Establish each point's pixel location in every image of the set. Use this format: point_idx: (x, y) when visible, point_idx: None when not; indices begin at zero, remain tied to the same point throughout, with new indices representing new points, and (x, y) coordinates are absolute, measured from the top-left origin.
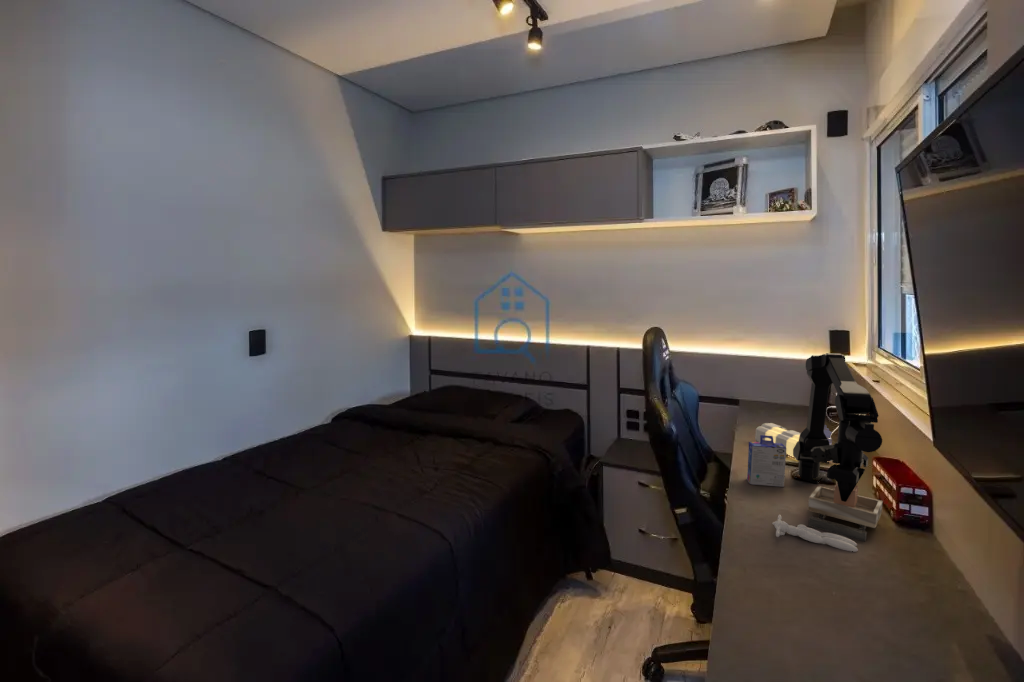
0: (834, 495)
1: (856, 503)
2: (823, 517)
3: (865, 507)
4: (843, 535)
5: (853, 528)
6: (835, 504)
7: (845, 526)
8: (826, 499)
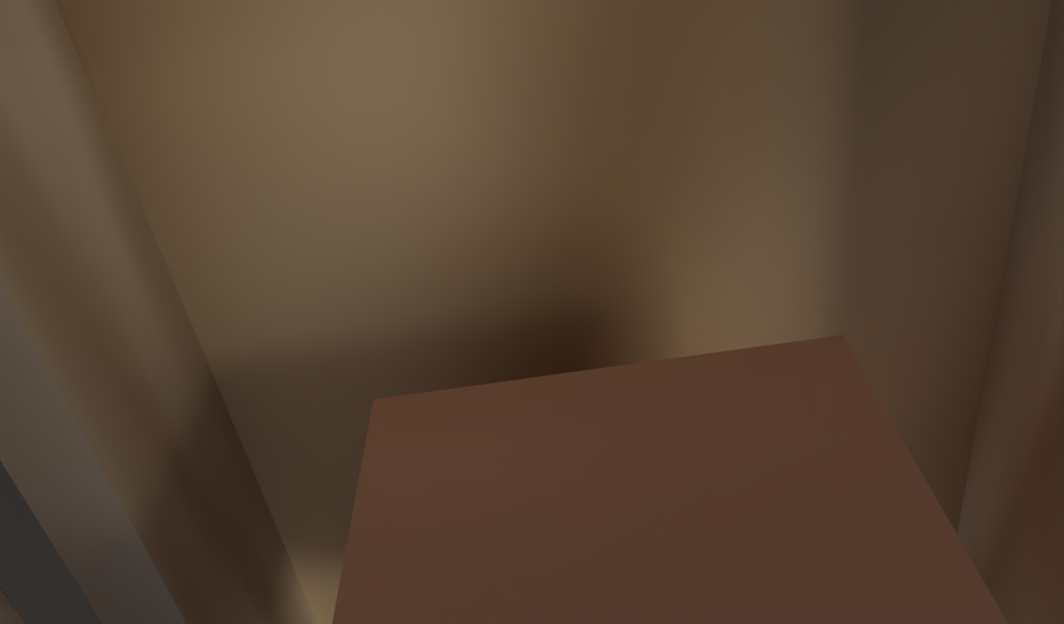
0: (341, 577)
1: (976, 525)
2: None
3: None
4: None
5: (87, 615)
6: (79, 573)
7: (42, 541)
8: (901, 11)
